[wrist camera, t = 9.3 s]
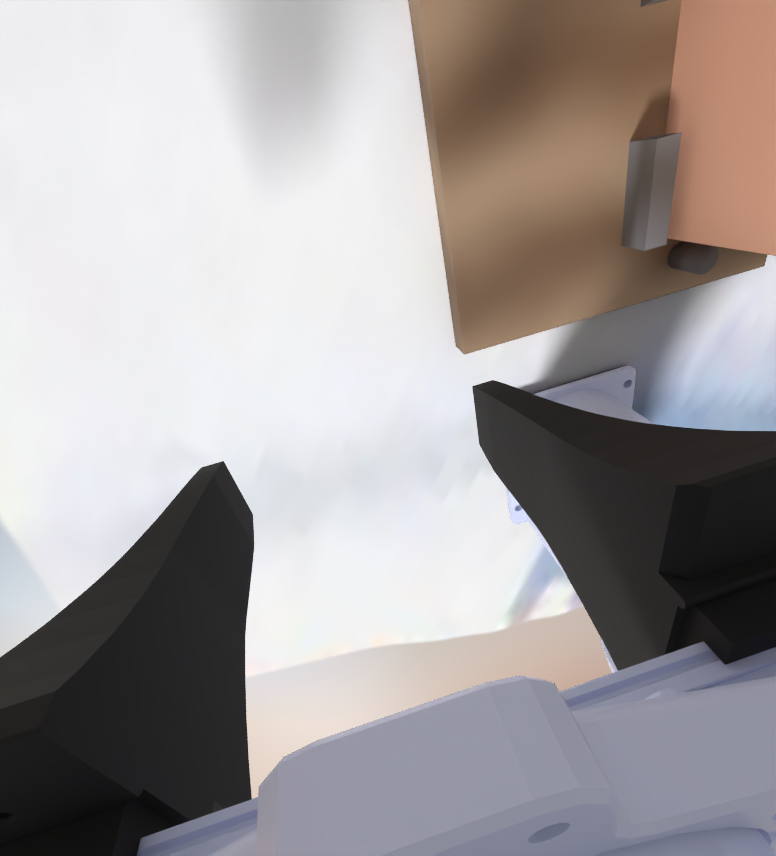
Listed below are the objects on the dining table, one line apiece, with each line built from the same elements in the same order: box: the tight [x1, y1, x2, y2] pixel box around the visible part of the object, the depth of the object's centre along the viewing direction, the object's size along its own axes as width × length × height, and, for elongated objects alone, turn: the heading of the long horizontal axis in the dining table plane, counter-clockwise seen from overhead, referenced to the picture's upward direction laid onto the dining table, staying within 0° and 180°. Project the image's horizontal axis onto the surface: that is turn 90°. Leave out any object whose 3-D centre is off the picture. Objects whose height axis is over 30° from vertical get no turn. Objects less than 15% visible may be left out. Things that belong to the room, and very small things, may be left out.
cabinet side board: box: [408, 0, 767, 354], centre depth 16 cm, size 18×16×3 cm
